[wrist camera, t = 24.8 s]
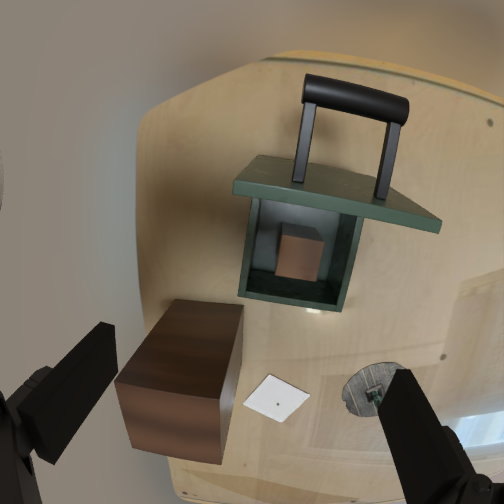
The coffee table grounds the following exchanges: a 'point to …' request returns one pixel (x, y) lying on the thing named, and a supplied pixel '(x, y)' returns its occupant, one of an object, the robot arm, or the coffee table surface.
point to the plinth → (184, 382)
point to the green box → (331, 265)
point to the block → (298, 252)
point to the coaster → (275, 399)
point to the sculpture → (368, 389)
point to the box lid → (336, 180)
